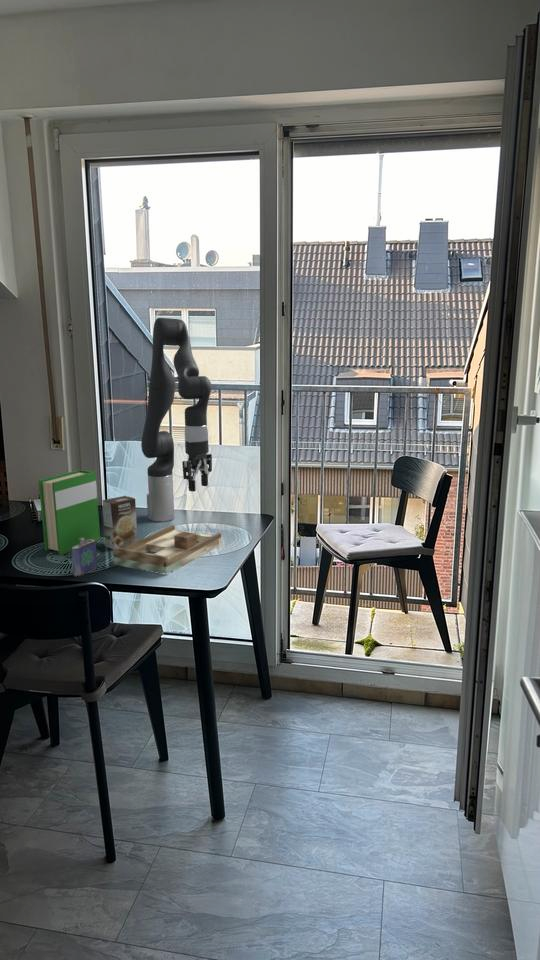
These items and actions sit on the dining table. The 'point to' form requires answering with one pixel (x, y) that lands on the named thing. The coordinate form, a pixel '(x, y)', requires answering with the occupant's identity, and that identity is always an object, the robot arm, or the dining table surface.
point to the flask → (84, 557)
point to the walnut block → (185, 540)
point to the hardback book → (69, 510)
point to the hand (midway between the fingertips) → (198, 488)
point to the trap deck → (163, 551)
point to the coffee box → (119, 521)
